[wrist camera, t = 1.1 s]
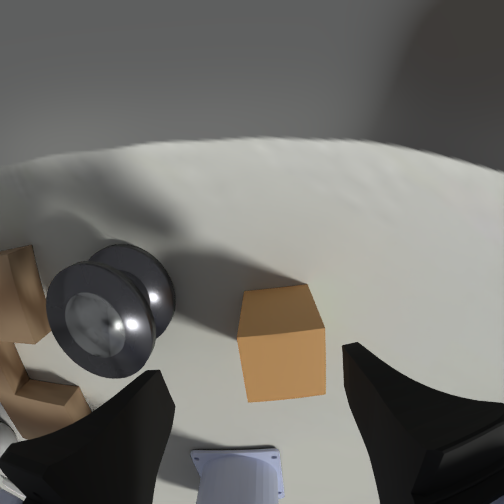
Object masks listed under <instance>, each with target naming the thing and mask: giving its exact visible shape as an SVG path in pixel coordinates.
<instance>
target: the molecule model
mask: <svg viewBox="0 0 504 504" xmlns="http://www.w3.org/2000/svg"><path fill="white" fill-rule="evenodd" d="M16 442H18V440H17V438H16V435H15V433H14V432H13V431H12V429H11V428H10V427H9V426H7V425H6V424H4V423H1V422H0V457H1V456H2V455H3V453H4V452H5V451H6V449H7V448H8V447H9V445H10V444H11V443H16Z"/></svg>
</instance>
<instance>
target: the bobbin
mask: <svg viewBox="0 0 504 504" xmlns="http://www.w3.org/2000/svg"><path fill="white" fill-rule="evenodd" d="M174 311H175V291H174V287H173V284H172V281H171V279H170V277H169V275H168V273H167V271H166V270H165V268H164V267H163V266H162V265H161V263H160V262H159V261H158V260H157V259H156V258H155V257H153V256H152V255H151V254H149V253H148V252H147V251H145V250H143V249H141V248H138V247H136V246H132V245H126V244H118V245H112V246H109V247H107V248H104V249H102V250H100V251H99V252H97V253H95V254H94V255H93V256H92V257H91V258H90V259H89V260H88V261H83V262H79V263H76V264H74V265H71V266H69V267H68V268H66V269H64V270H62V271H61V272H59V273H58V274H57V275H56V276H55V278H54V279H53V280H52V282H51V284H50V286H49V289H48V292H47V297H46V313H47V318H48V322H49V325H50V328H51V331H52V333H53V335H54V337H55V339H56V341H57V342H58V344H59V345H60V347H61V348H62V349H63V351H64V352H65V353H66V354H67V355H68V356H69V357H70V358H71V359H72V360H73V361H74V362H75V363H77V364H78V365H79V366H80V367H82V368H84V369H85V370H87V371H89V372H91V373H93V374H95V375H98V376H101V377H105V378H125V377H128V376H131V375H133V374H135V373H136V372H138V371H139V370H140V369H141V368H142V367H143V366H144V365H145V363H146V361H147V360H148V358H149V356H150V355H151V353H152V351H153V348H154V345H155V341H156V338H158V337H159V336H160V335H161V334H162V333H163V332H164V331H165V329H166V328H167V326H168V325H169V323H170V321H171V319H172V317H173V314H174Z"/></svg>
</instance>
